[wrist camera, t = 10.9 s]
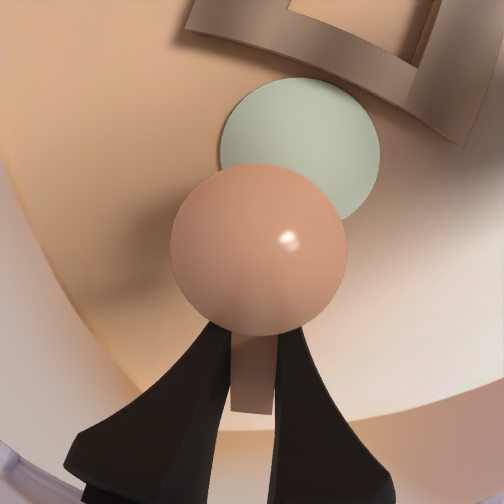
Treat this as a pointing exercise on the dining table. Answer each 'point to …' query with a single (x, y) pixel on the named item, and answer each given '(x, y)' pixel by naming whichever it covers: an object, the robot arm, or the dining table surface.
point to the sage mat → (307, 138)
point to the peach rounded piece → (257, 265)
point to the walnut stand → (379, 54)
